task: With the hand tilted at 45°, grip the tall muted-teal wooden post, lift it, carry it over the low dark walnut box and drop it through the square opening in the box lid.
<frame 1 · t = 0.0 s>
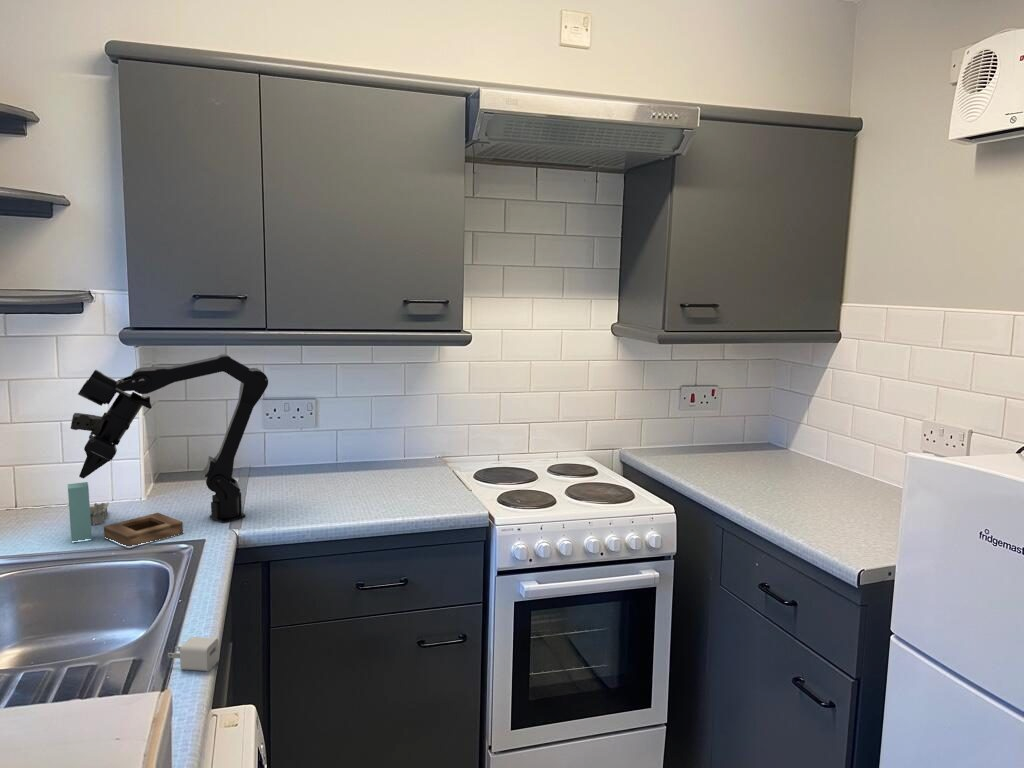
hand: (83, 472, 172), 15 cm above the worktop, tool tilted 35°, fingers open, 9 cm apart
usb wall charger: (192, 666, 117), on the worktop
teal post: (81, 539, 170), on the worktop
walnut box: (144, 536, 173), on the worktop
miniature castle: (91, 520, 184), on the worktop
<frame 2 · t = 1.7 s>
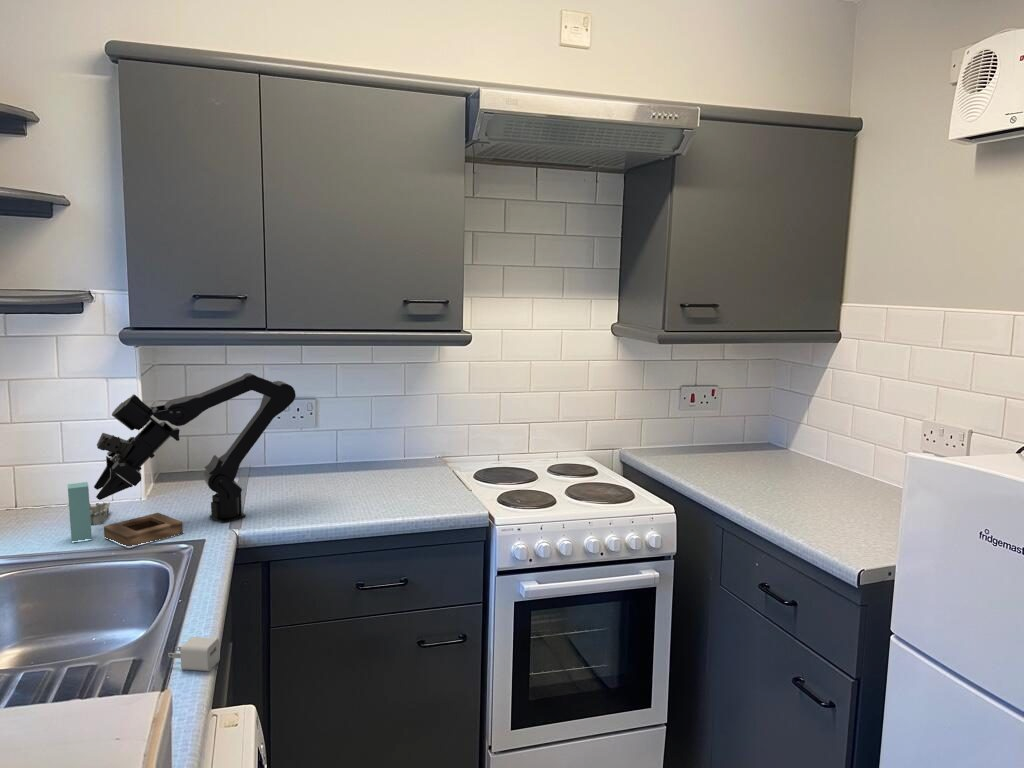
hand: (96, 493, 171), 10 cm above the worktop, tool tilted 45°, fingers open, 9 cm apart
nothing on the worktop moved.
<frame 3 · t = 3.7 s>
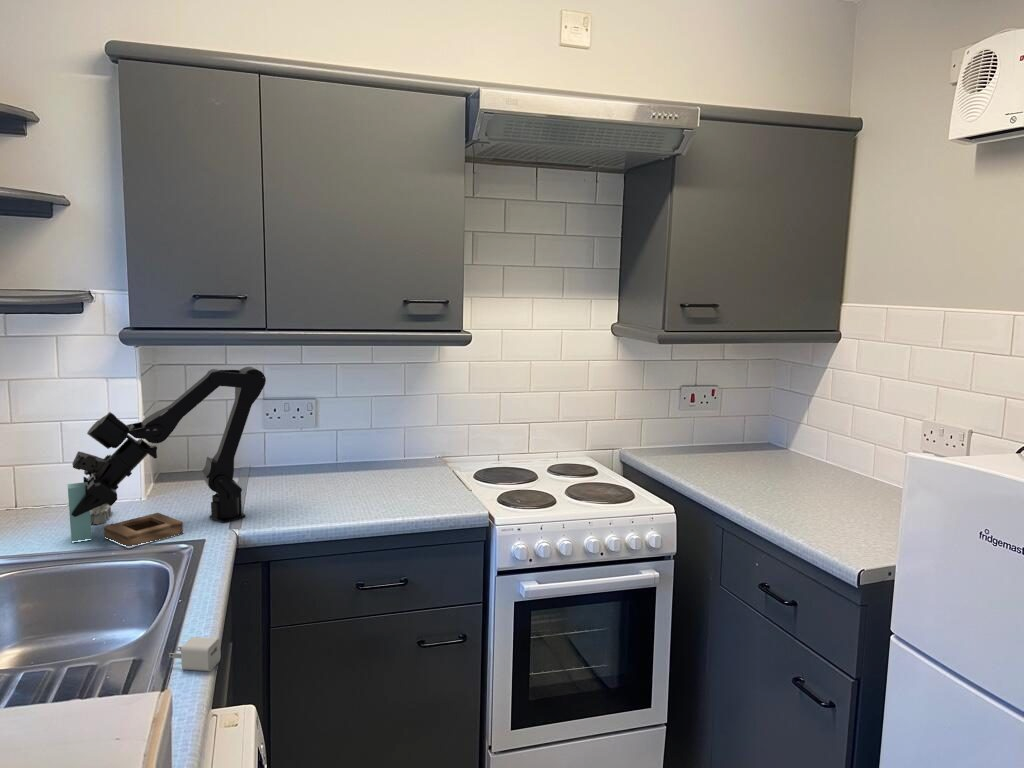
hand: (72, 512, 168), 7 cm above the worktop, tool tilted 45°, fingers closed on teal post, 4 cm apart
teal post: (81, 539, 170), on the worktop, touching gripper
everything else where it was.
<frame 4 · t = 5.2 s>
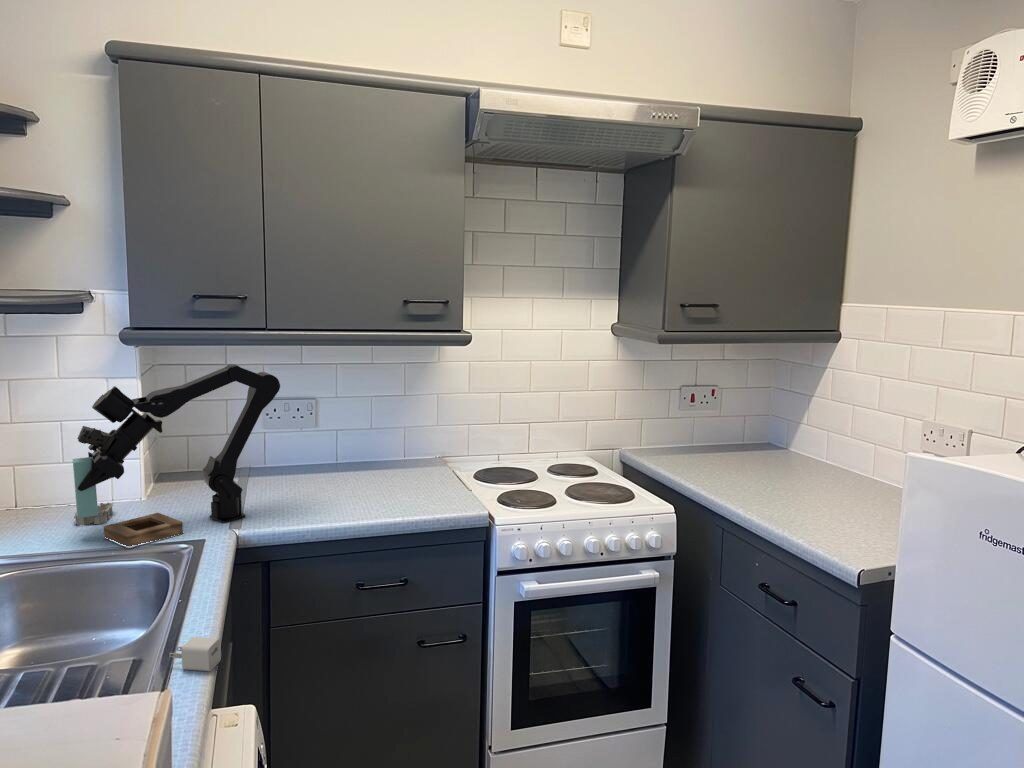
hand: (78, 487, 168), 13 cm above the worktop, tool tilted 45°, fingers closed on teal post, 4 cm apart
teal post: (87, 514, 169), point 6 cm above the worktop, touching gripper
everything else where it was.
when the fingers open (10 cm above the worktop, at t = 7.0 s): teal post drops 4 cm, resting on walnut box.
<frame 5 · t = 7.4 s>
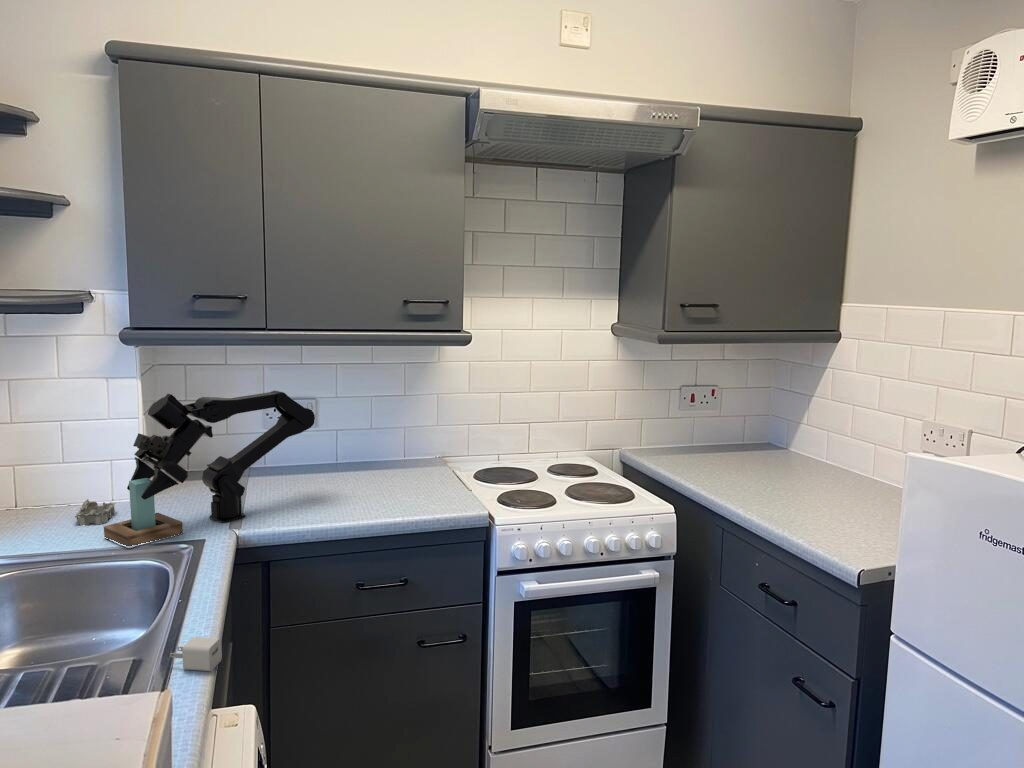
hand: (135, 494, 170), 11 cm above the worktop, tool tilted 45°, fingers open, 9 cm apart
teal post: (144, 534, 173), resting on walnut box
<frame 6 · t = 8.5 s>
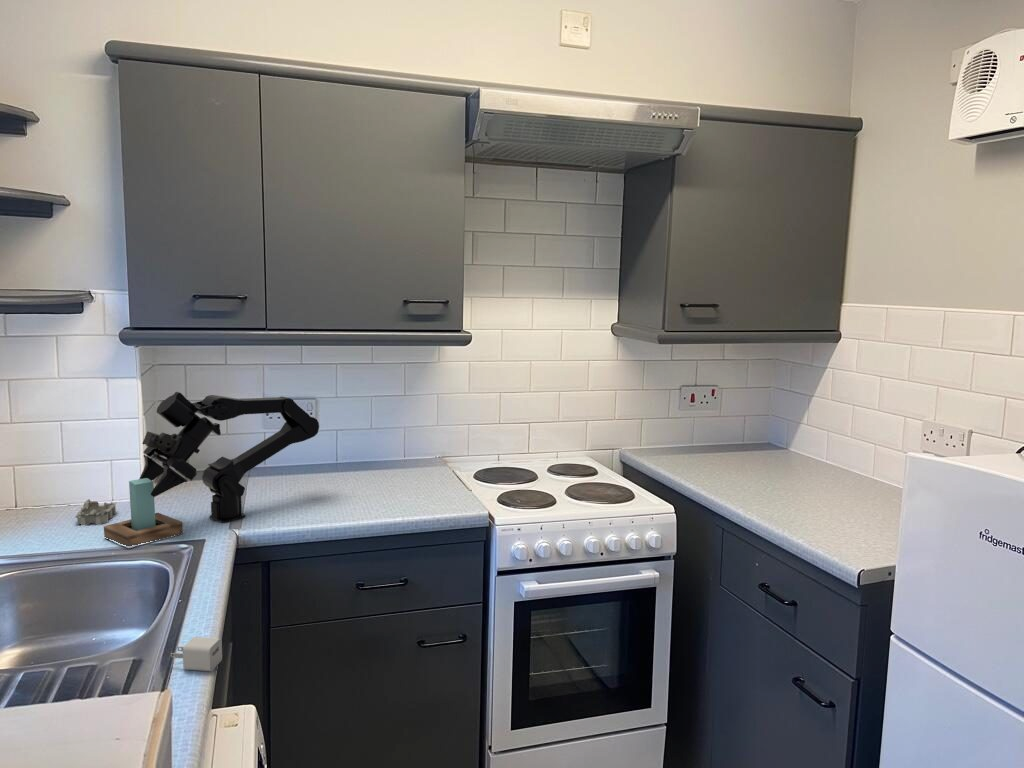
hand: (144, 491, 172), 11 cm above the worktop, tool tilted 45°, fingers open, 9 cm apart
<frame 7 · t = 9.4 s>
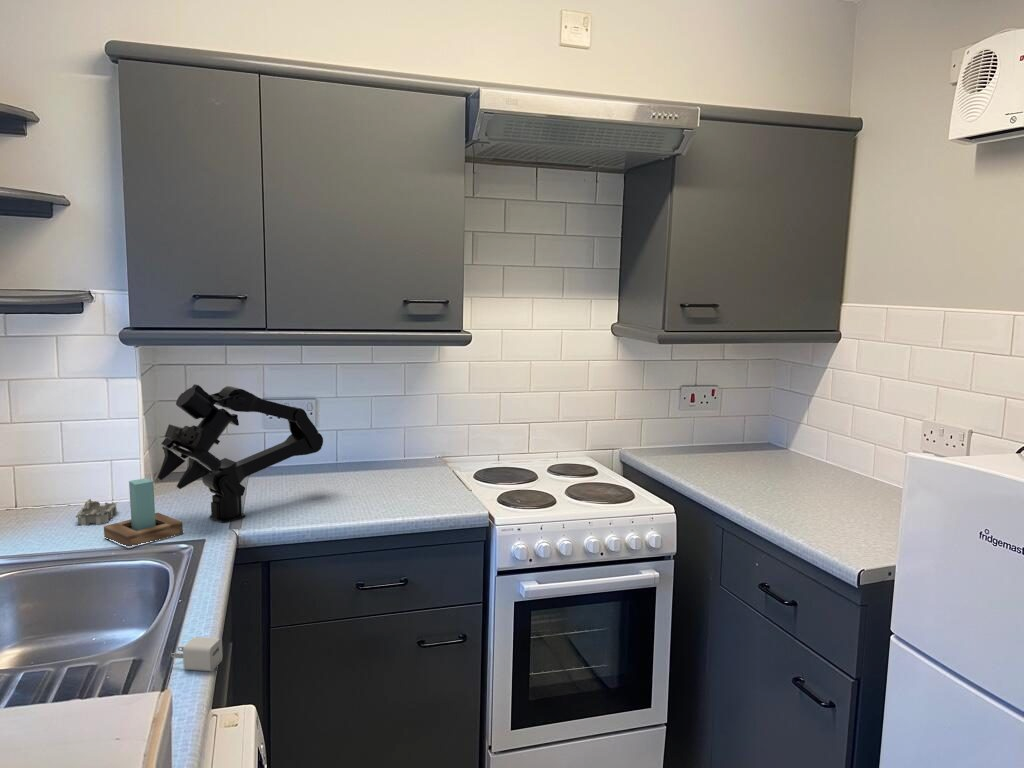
hand: (168, 483, 175), 12 cm above the worktop, tool tilted 40°, fingers open, 9 cm apart
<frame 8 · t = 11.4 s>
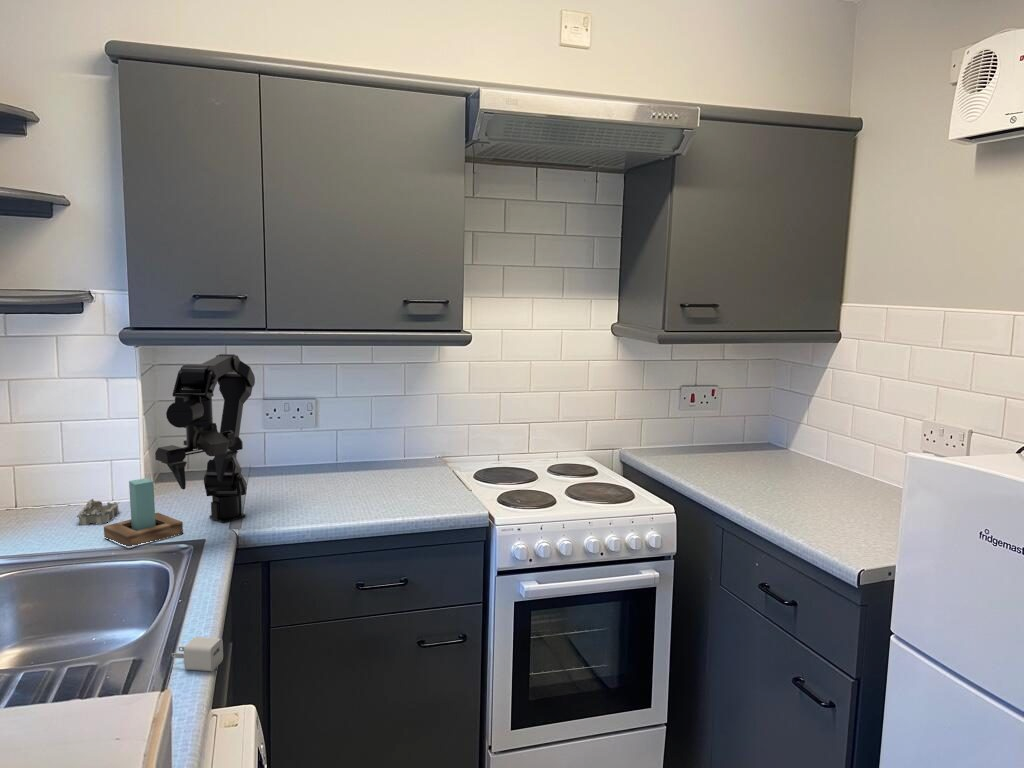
hand: (202, 484, 171), 13 cm above the worktop, tool pointing down, fingers open, 9 cm apart
at the end: teal post inside the target area on the walnut box (0.0 cm from its centre), point 0.4 cm above the walnut box's base; the gripper is holding nothing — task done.
